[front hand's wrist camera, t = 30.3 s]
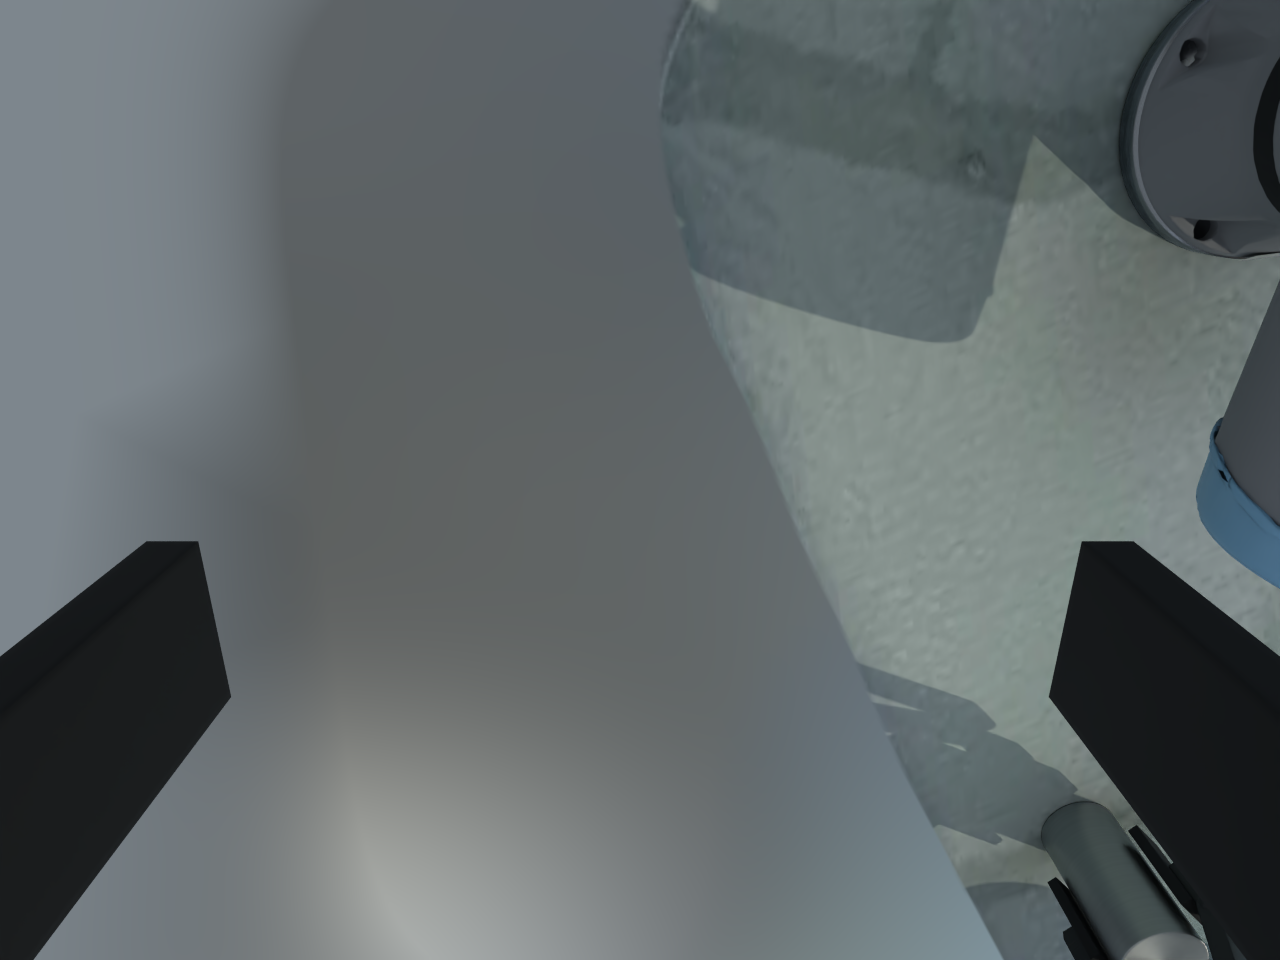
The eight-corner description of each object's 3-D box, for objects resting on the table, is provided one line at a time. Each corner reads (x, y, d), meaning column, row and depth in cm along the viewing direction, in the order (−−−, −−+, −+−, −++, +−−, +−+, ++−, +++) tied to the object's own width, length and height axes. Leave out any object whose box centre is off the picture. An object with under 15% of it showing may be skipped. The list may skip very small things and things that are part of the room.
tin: (1099, 790, 65) (1192, 919, 54) (1125, 839, 67) (1221, 974, 56) (1029, 821, 66) (1107, 954, 55) (1057, 868, 68) (1137, 1006, 57)
